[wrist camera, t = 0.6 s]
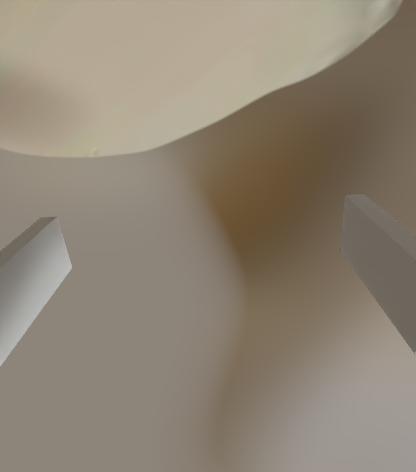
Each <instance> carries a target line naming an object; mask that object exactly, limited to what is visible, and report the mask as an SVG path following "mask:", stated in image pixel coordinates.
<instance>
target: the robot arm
mask: <svg viewBox="0 0 416 472" xmlns="http://www.w3.org/2000/svg"><path fill="white" fill-rule="evenodd" d="M340 251H341V252H342V253H343V255H344V256H345V258H346V259H347V260H348V262H349V263H350V264H351V266H352V267H353V269H354V270H355V271H356V273H357V274H358V276H359V277H360V278H361V280H362V281H363V283H364V284H365V285H366V287H367V288H368V290H369V291H370V292H371V294H372V295H373V296H374V298H375V299H376V301H377V302H378V303H379V305H380V306H381V308H382V309H383V310H384V312H385V313H386V315H387V316H388V317H389V319H390V320H391V321H392V323H393V324H394V325H395V327H396V328H397V330H398V331H399V333H400V334H401V335H402V337H403V338H404V340H405V341H406V342H407V344H408V345H409V346H410V348H411V349H412V351H413V352H414V353H415V354H416V236H415V235H413V234H412V233H411V232H410V231H409V230H407V229H406V228H405V227H403V226H402V225H401V224H400V223H399V222H397V221H396V220H395V219H393V218H392V217H391V216H390V215H389V214H387V213H386V212H385V211H383V210H382V209H381V208H380V207H379V206H377V205H376V204H375V203H374V202H372V201H371V200H370V199H369V198H367V197H366V196H365V195H364V194H358V195H346V197H345V207H344V217H343V227H342V238H341V247H340ZM71 269H72V266H71V262H70V259H69V256H68V253H67V249H66V246H65V243H64V239H63V236H62V233H61V229H60V226H59V222H58V219H57V217H46V218H40V219H39V220H37V221H36V222H35V223H34V224H33V225H31V226H30V227H29V228H28V229H27V230H25V231H24V232H23V233H22V234H21V235H20V236H18V237H17V238H16V239H15V240H13V241H12V242H11V243H10V244H9V245H7V246H6V247H5V248H4V249H3V250H1V251H0V366H1V365H2V363H3V362H4V361H5V359H6V358H7V356H8V355H9V354H10V352H11V351H12V349H13V348H14V347H15V345H16V344H17V343H18V341H19V340H20V339H21V337H22V335H24V333H25V332H26V330H27V329H28V328H29V326H30V325H31V323H32V322H33V321H34V319H35V318H36V317H37V315H38V314H39V313H40V311H41V310H42V308H43V307H44V306H45V304H46V303H47V302H48V300H49V299H50V297H51V296H52V294H53V293H54V292H55V290H56V289H57V288H58V286H59V285H60V284H61V282H62V281H63V280H64V278H65V277H66V275H67V274H68V273H69V271H70V270H71Z"/></svg>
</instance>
